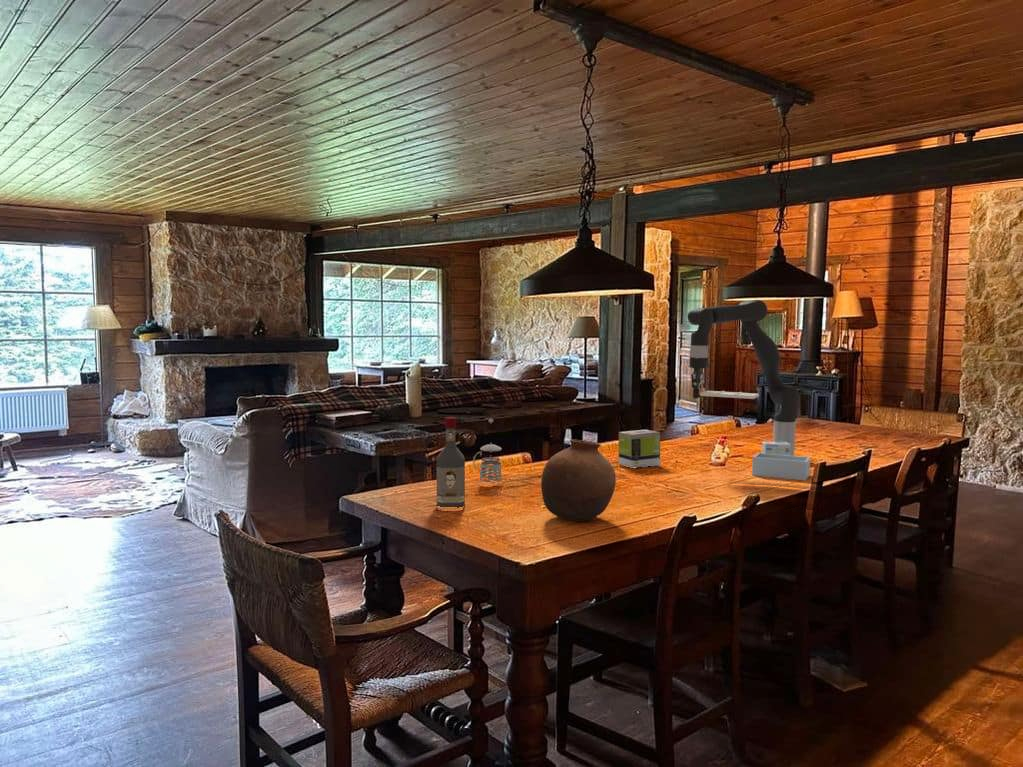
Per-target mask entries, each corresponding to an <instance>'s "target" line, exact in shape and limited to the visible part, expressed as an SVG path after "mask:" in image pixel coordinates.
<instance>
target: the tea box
mask: <svg viewBox="0 0 1023 767" xmlns="http://www.w3.org/2000/svg"><path fill="white" fill-rule="evenodd" d="M619 464H622V465H625V466H628V467H631V468H633V467H642V468H649V467H648V466H651V467H659V466H661V432H660V431H655V430H650V429H638V430H627V431H619V432H618V465H619ZM631 468H630V469H631ZM633 469H634V468H633Z"/></svg>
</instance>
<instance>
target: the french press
mask: <svg viewBox="0 0 1023 767" xmlns="http://www.w3.org/2000/svg"><path fill="white" fill-rule="evenodd" d="M488 423H494V419H493V418H489V419H488ZM479 449H480V451H478V452H477V453H476V454H475V455H474V456H473V459H472V463H473V468H474V469H475V470H476V471H478V472H479V478H480V480H481V481H484V482H491V481H489V480H486V479H485V480H482V478H488V479H490V480H493V481H498V482H500V481H501V482H502V462H500V461H501V458H499V457H495V456H493V457H492V456H489V457H483V458H481V459H480V460H481V461H482V462H481V463H480V468H478V467H477V465H476V457H477V455H478V454H479V455H480V457H481V456H482V455H483V452H500V451H502V447H501V446H498V445H496V444H493V443H489V444H485V445H482V446H481V447H480V448H479ZM482 451H483V452H482ZM492 478H496V479H492ZM480 480H479V481H480ZM491 483H495V482H491Z"/></svg>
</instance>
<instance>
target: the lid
mask: <svg viewBox="0 0 1023 767" xmlns="http://www.w3.org/2000/svg"><path fill="white" fill-rule="evenodd" d="M689 392H690V394H689V395H693V388H692V387H690V391H689ZM699 395H700V396H702V397H715V398H716V397H718V398H733V399H750V400H755V399H758V398H759V397H760V393H754V392H753V393H752V392H751V393H750V392H749V393H748V392H743V391H739V392H735V391H725V390H721V391H718V390H715V391H714V390H706V388H705V387H703V388H699Z"/></svg>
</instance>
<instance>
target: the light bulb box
mask: <svg viewBox="0 0 1023 767" xmlns="http://www.w3.org/2000/svg"><path fill="white" fill-rule="evenodd" d="M761 453H765V454H777V455H789V456H790V454H791V444H789V443H788V442H773V441H761Z"/></svg>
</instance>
